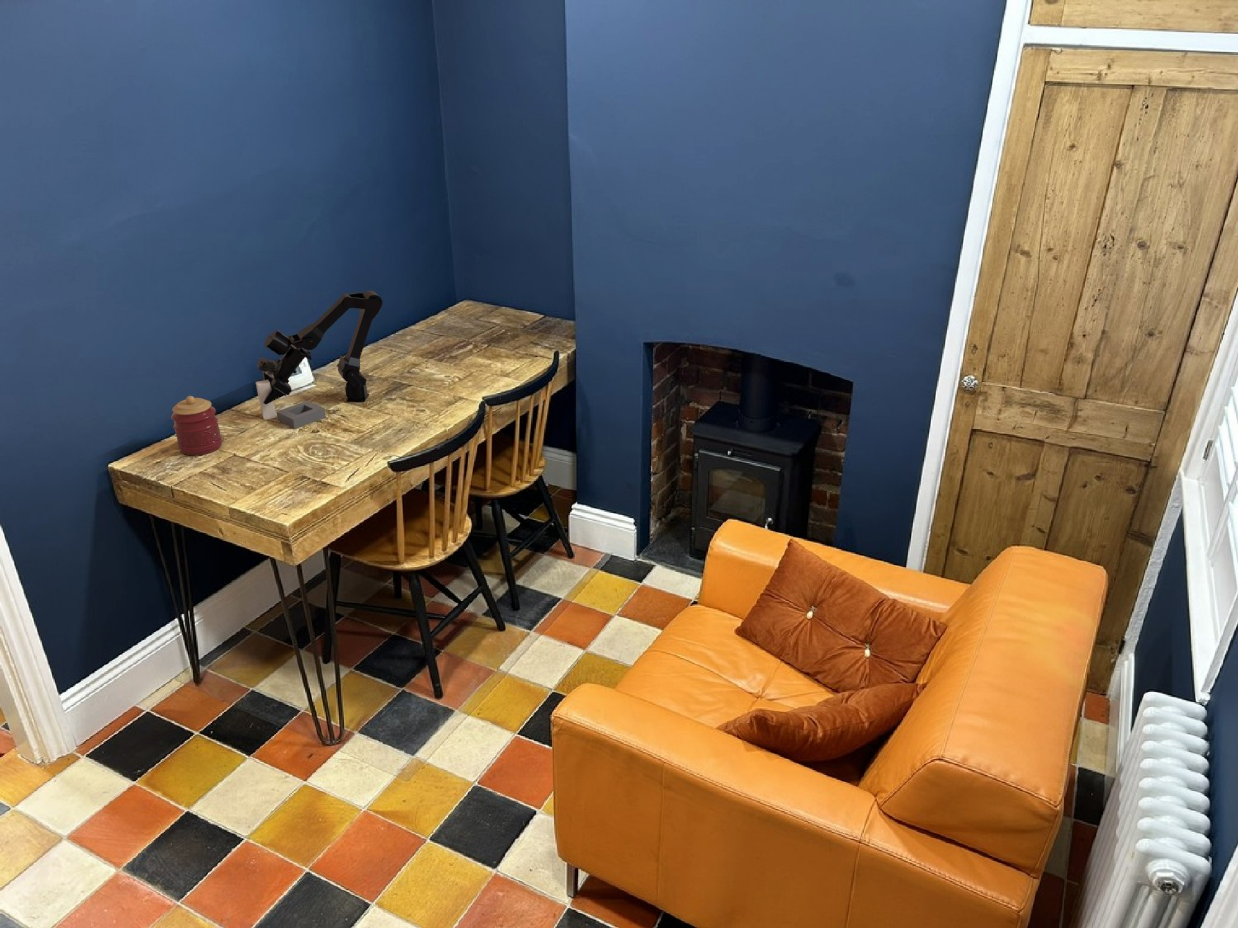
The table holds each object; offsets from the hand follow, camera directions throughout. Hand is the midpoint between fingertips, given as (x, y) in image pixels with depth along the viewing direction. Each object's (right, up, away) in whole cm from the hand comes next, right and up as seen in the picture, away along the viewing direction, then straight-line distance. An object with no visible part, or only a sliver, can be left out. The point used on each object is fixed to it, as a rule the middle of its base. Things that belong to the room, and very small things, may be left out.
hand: (261, 399), depth 317 cm
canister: (-13, -17, -17) cm, 27 cm away
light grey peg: (+1, -6, +4) cm, 7 cm away
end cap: (+13, -7, +1) cm, 15 cm away
